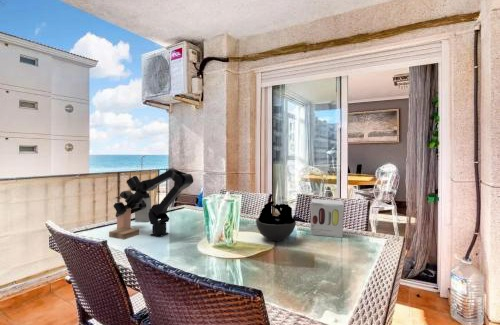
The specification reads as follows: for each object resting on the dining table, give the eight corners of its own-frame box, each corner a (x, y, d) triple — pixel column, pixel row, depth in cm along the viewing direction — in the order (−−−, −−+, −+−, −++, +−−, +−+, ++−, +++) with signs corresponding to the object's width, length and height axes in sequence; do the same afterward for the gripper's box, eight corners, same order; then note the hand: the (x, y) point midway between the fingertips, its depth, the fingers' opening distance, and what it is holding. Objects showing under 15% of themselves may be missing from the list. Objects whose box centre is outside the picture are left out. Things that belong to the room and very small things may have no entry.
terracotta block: (130, 228, 160) (130, 205, 159) (123, 230, 155) (123, 206, 155) (124, 227, 162) (124, 204, 161) (116, 229, 157) (117, 205, 157)
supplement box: (310, 235, 152) (310, 202, 152) (310, 229, 165) (311, 198, 165) (343, 237, 148) (344, 203, 148) (341, 231, 161) (342, 200, 161)
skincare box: (151, 219, 180) (152, 195, 180) (146, 222, 173) (147, 196, 173) (139, 219, 181) (139, 194, 181) (133, 221, 174) (133, 196, 174)
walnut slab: (139, 235, 147) (139, 229, 147) (123, 240, 138) (123, 234, 138) (124, 232, 151) (125, 227, 151) (109, 237, 142) (109, 231, 142)
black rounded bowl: (294, 247, 130) (295, 207, 130) (252, 244, 134) (252, 205, 134) (296, 236, 150) (296, 201, 149) (259, 233, 154) (259, 199, 153)
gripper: (143, 184, 164) (129, 201, 169) (116, 187, 147) (101, 206, 152) (153, 199, 161) (138, 216, 166) (126, 204, 144) (111, 223, 149)
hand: (123, 215), depth 158 cm, fingers open, 9 cm apart
